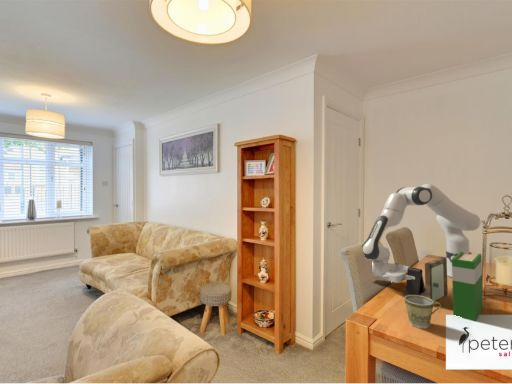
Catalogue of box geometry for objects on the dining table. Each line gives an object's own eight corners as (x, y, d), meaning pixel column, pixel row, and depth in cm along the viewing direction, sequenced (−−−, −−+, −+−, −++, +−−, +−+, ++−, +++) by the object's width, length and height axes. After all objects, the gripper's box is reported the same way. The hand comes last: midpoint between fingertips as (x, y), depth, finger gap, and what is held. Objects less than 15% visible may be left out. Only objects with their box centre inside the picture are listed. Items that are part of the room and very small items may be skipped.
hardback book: (462, 302, 127) (460, 251, 127) (482, 307, 122) (481, 254, 122) (453, 315, 115) (451, 259, 115) (475, 321, 110) (474, 262, 110)
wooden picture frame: (442, 294, 138) (442, 256, 138) (447, 295, 136) (446, 257, 136) (425, 304, 127) (424, 263, 127) (430, 305, 125) (429, 264, 125)
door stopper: (417, 295, 135) (416, 271, 134) (404, 292, 140) (404, 268, 139) (425, 291, 140) (425, 267, 140) (413, 287, 145) (412, 265, 144)
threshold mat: (419, 289, 146) (419, 288, 146) (442, 295, 137) (442, 294, 137) (403, 296, 136) (403, 295, 136) (428, 303, 127) (427, 302, 127)
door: (441, 294, 136) (440, 262, 136) (447, 296, 133) (447, 264, 133) (429, 302, 128) (428, 268, 128) (435, 304, 126) (434, 269, 125)
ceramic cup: (411, 330, 105) (410, 304, 104) (401, 318, 114) (400, 294, 114) (448, 332, 103) (447, 305, 102) (435, 319, 112) (434, 295, 112)
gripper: (379, 269, 144) (406, 276, 133) (399, 262, 156) (425, 267, 144) (380, 281, 144) (406, 289, 133) (399, 273, 156) (426, 279, 145)
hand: (416, 277), depth 139 cm, fingers closed on door stopper
